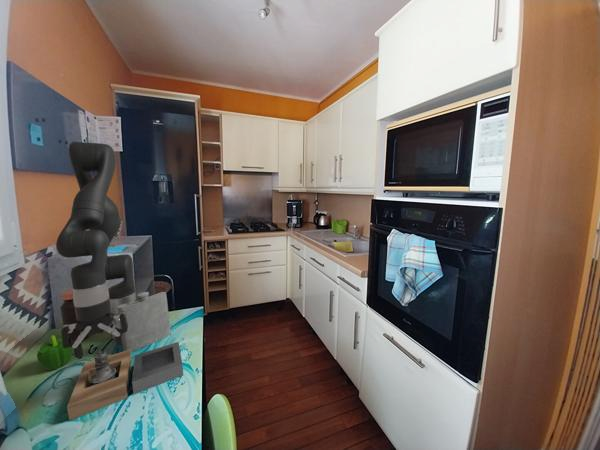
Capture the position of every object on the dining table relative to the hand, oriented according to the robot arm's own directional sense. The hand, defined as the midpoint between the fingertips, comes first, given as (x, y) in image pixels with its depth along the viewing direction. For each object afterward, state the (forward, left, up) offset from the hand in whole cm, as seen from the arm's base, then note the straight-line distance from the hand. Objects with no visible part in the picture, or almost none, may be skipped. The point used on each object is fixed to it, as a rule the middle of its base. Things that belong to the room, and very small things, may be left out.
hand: (100, 351), depth 69 cm
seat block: (+2, +14, -11) cm, 18 cm away
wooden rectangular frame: (0, 0, -11) cm, 11 cm away
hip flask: (-17, +11, -12) cm, 24 cm away
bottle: (-35, -13, -12) cm, 39 cm away
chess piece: (0, 0, -12) cm, 12 cm away
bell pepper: (-20, -15, -12) cm, 28 cm away
